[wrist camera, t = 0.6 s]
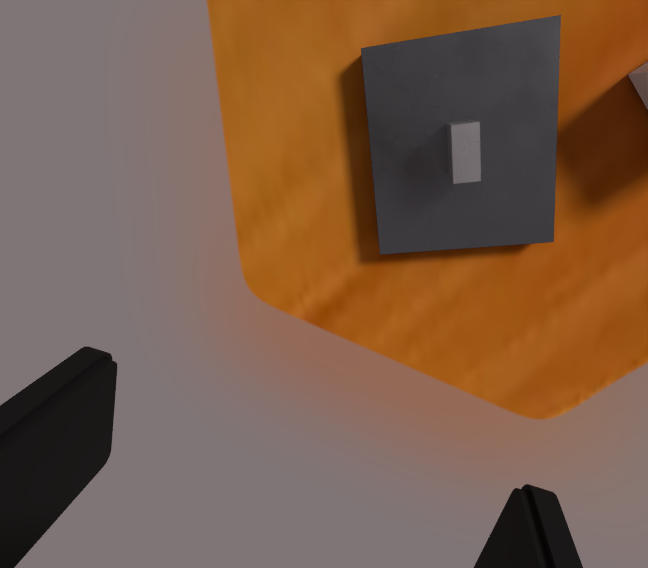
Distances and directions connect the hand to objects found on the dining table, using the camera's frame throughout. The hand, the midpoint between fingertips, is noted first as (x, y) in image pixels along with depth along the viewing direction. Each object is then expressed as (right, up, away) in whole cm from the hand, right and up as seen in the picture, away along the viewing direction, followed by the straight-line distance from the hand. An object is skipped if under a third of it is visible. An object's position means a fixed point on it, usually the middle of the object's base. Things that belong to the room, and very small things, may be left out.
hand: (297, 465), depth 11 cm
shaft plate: (+10, +14, +23) cm, 29 cm away
